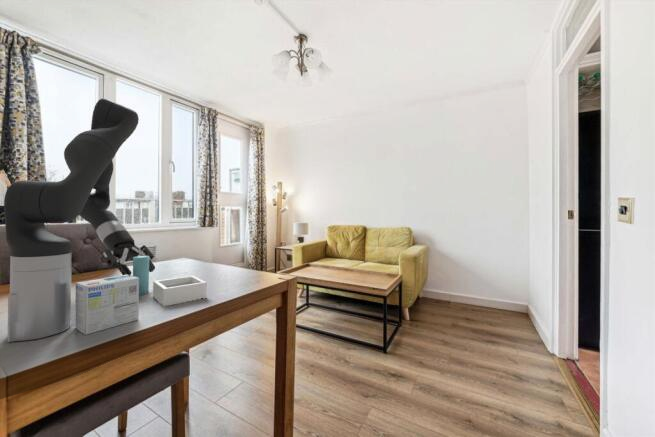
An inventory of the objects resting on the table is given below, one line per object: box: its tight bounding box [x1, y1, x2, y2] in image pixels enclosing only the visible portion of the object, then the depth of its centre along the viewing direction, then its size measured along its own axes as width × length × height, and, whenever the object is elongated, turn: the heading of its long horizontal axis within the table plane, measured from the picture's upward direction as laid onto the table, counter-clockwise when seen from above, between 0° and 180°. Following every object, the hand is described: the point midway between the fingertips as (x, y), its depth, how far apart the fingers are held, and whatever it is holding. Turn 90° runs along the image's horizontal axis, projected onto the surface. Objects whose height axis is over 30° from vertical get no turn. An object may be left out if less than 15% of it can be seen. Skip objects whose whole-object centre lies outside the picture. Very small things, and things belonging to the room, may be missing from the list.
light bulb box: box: [75, 274, 140, 336], centre depth 64 cm, size 11×7×11 cm, turn 149°
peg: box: [132, 255, 150, 296], centre depth 89 cm, size 4×4×12 cm
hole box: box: [152, 275, 208, 307], centre depth 85 cm, size 12×12×5 cm
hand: (141, 272), depth 89 cm, fingers open, 8 cm apart
